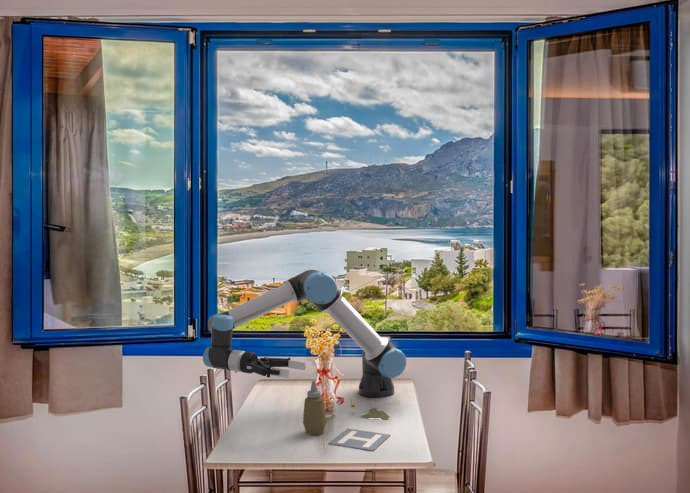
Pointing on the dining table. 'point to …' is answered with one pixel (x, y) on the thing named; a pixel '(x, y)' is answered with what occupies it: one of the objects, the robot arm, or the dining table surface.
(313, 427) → the squeeze bottle
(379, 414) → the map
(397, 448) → the dining table surface
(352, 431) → the pad
